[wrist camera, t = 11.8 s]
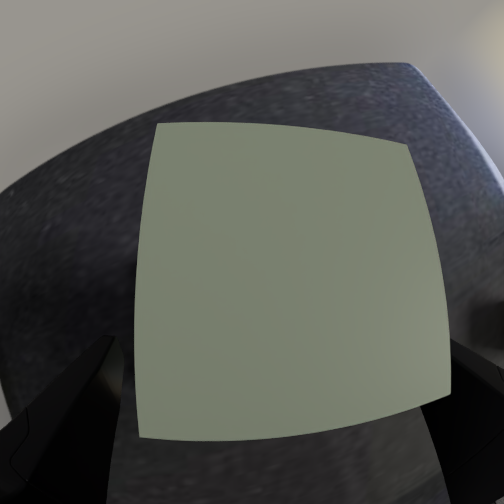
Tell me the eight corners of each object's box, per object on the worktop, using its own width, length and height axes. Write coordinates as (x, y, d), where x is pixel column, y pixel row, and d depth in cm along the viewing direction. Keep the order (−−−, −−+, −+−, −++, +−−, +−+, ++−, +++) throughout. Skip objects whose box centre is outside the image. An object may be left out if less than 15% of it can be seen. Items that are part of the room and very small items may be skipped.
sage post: (286, 363, 16) (450, 394, 4) (199, 366, 15) (139, 436, 3) (281, 281, 17) (406, 144, 5) (198, 281, 17) (157, 123, 5)
